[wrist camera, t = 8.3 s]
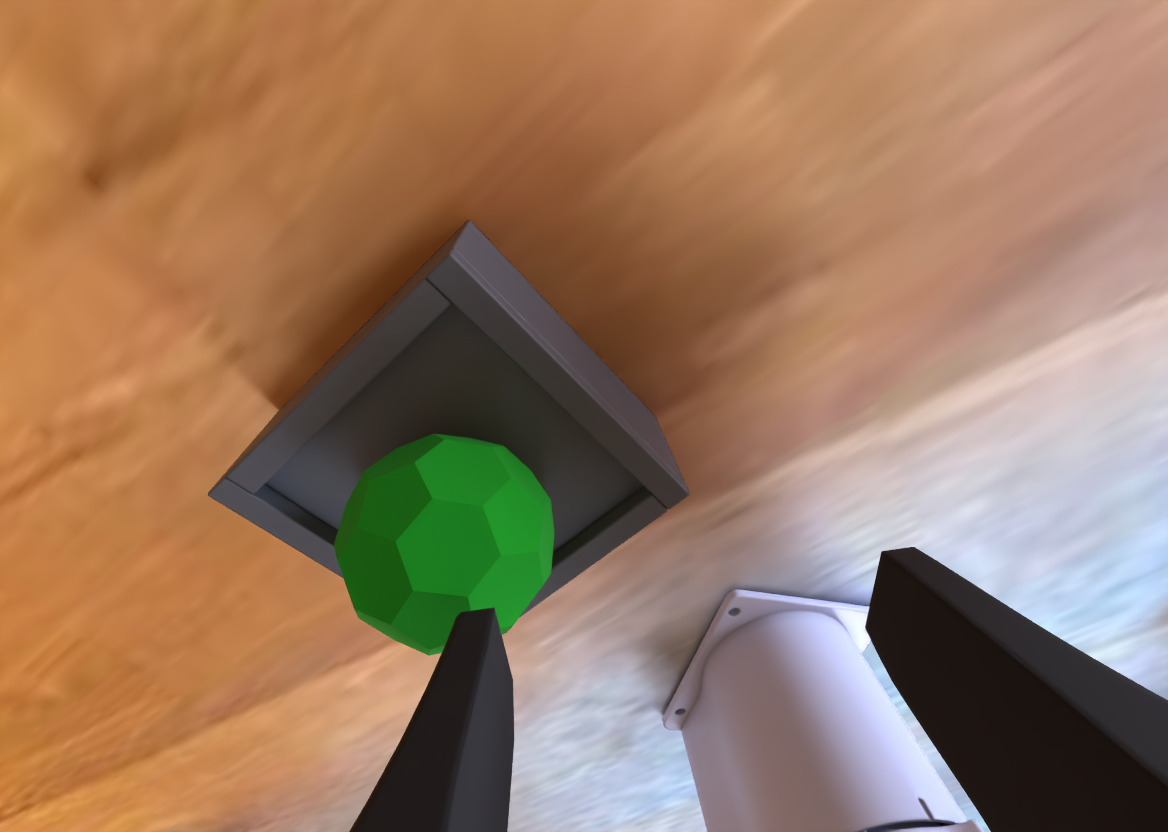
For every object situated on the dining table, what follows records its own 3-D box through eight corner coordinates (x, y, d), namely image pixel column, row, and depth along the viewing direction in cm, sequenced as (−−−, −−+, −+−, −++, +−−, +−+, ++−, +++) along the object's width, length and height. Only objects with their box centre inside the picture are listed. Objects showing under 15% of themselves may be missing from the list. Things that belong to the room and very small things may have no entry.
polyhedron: (346, 410, 14) (266, 536, 9) (541, 391, 14) (547, 507, 10) (391, 558, 16) (344, 711, 12) (557, 540, 16) (567, 684, 12)
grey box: (656, 417, 19) (691, 494, 15) (479, 555, 21) (468, 655, 17) (469, 219, 16) (449, 251, 11) (278, 411, 18) (205, 495, 14)
